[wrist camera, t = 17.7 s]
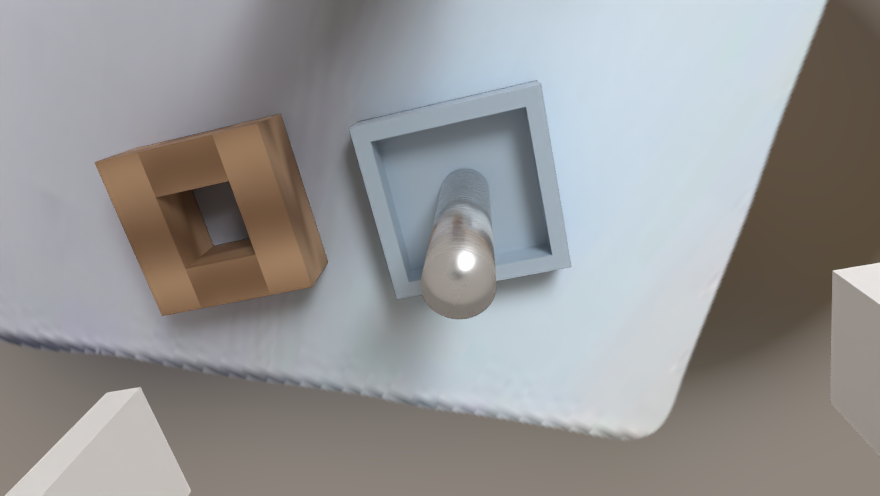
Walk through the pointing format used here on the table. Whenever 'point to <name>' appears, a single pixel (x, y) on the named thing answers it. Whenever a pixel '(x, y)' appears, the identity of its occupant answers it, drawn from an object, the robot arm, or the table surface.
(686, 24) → the table surface
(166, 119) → the table surface
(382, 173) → the tray
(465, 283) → the cylinder
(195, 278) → the bore block
